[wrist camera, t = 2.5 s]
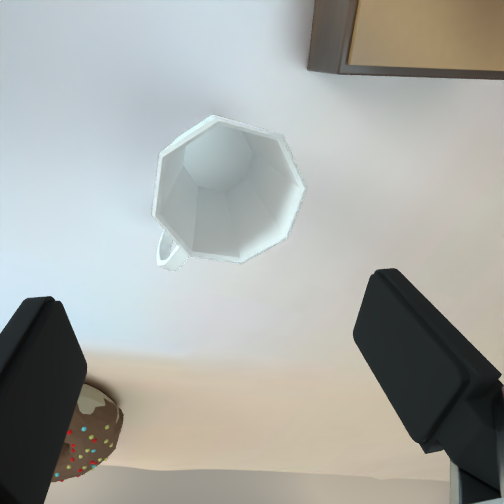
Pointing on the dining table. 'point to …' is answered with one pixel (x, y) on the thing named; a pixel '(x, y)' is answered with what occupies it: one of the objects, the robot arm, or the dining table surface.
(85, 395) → the donut
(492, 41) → the block
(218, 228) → the cup
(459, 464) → the robot arm
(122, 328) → the dining table surface
